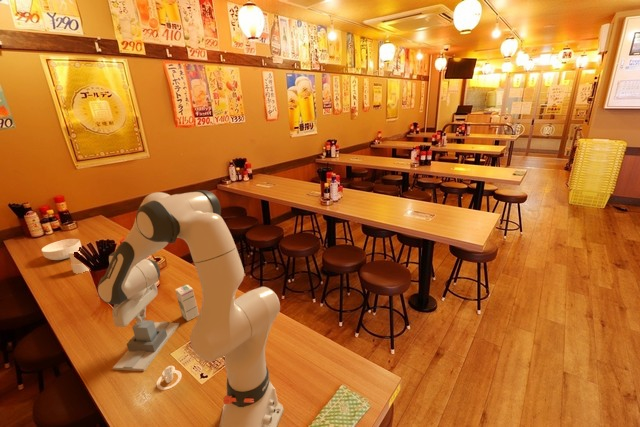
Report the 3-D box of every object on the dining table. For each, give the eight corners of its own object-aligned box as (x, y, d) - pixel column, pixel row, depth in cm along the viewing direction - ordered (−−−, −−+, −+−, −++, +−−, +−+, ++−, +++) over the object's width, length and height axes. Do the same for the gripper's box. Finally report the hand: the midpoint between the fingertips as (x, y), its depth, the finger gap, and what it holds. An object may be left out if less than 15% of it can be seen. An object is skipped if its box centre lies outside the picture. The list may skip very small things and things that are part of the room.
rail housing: (144, 371, 109) (141, 361, 107) (113, 369, 110) (109, 360, 108) (179, 324, 131) (177, 316, 129) (153, 324, 132) (150, 315, 131)
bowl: (90, 251, 205) (86, 239, 202) (60, 265, 187) (55, 253, 185) (69, 248, 211) (65, 237, 208) (38, 262, 193) (33, 250, 190)
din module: (152, 346, 118) (146, 327, 114) (136, 345, 118) (130, 327, 115) (158, 338, 121) (153, 320, 118) (143, 338, 122) (137, 320, 119)
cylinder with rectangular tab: (69, 273, 177) (62, 255, 173) (83, 266, 185) (77, 248, 181) (82, 274, 175) (76, 256, 171) (95, 266, 184) (89, 249, 180)
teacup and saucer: (166, 368, 110) (164, 359, 108) (187, 370, 109) (185, 361, 107) (151, 390, 101) (148, 381, 100) (173, 391, 101) (171, 382, 99)
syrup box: (199, 315, 136) (193, 287, 132) (186, 322, 132) (180, 294, 127) (193, 310, 140) (187, 283, 135) (181, 316, 136) (174, 289, 131)
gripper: (120, 307, 101) (131, 339, 106) (156, 274, 120) (164, 303, 125) (102, 306, 102) (114, 339, 106) (141, 274, 121) (150, 303, 126)
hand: (141, 319), depth 116 cm, fingers closed
